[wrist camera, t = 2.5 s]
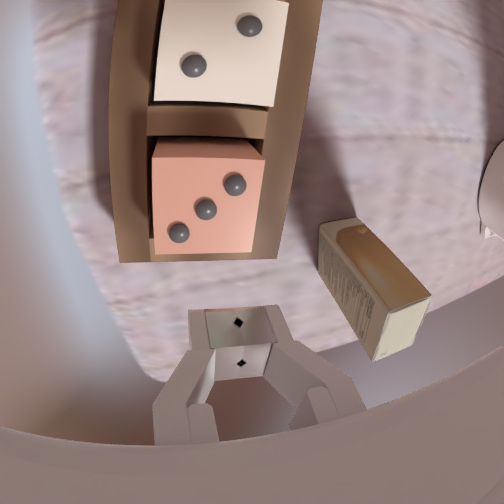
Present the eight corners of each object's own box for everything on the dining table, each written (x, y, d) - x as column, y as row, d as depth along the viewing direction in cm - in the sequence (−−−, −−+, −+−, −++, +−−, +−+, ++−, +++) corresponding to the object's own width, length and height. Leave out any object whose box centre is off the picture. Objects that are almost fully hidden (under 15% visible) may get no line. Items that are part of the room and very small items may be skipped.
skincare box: (352, 264, 31) (412, 348, 22) (316, 273, 31) (370, 365, 21) (358, 213, 27) (436, 295, 18) (318, 220, 27) (389, 314, 17)
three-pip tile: (246, 139, 19) (266, 161, 15) (237, 215, 23) (252, 254, 19) (158, 137, 18) (151, 158, 14) (158, 216, 21) (155, 256, 17)
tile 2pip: (263, 17, 14) (290, 2, 10) (251, 98, 18) (274, 107, 14) (170, 9, 13) (166, -12, 9) (161, 94, 16) (153, 100, 12)
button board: (311, -79, 10) (334, -96, 7) (263, 232, 26) (276, 258, 23) (157, -97, 7) (155, -121, 4) (126, 234, 23) (119, 262, 20)
